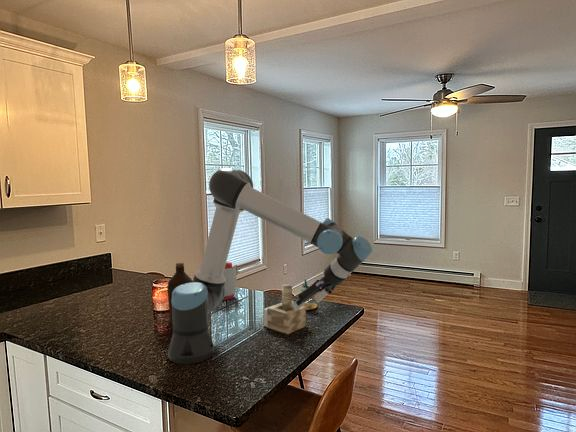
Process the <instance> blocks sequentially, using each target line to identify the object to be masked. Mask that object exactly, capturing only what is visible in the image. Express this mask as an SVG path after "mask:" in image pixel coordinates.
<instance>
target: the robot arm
mask: <svg viewBox="0 0 576 432" xmlns="http://www.w3.org/2000/svg"><path fill="white" fill-rule="evenodd" d="M208 183H209V184H208V187H209V188H208V189H209V192H210V194H211V196H212V197H213V201H212V202H213V205H214V206H215V210H214V213H213V214H214V215H213V219H212V222H211V227H210V229H209V233H208V234H209V235H208V237H207V240H206V245H205V250H204V252H203V255H202V256H203V257H202V260H201V265H200V269H198V270H197V271H195V272H194V276H193V279H192V281H193V282H192V283H186V284H182V285H180V286H178V287H176V288H175V289H174V290H173V292H172V299H171V303H172V320H173V325H172V336H171V340H170V343H169V347H168V350H167V356H168V360H169V361H171V362H172V363H176V364H179V365H181V364H182V365H191V364H192V365H193V364H199V363H200V362H204V361H207V360H208V359H210V358H211V357H212V356H214V354H215V345H214V341H213V339H212V336H211V334H210V331H209V315H210V313H211V312H213V310H215V309H216V308H217V307H219V306H220V305H221V303H222V302H223V301H224V300H223V298H224V296H225V286H224V285H225V281H226V279H225V277H224V276H223V273H224V269H225V265H226V262H228V257H229V253H230V249H231V245H232V242H233V238H234V235H235V231H236V228H237V222H238V219H239V215H240V214H241V213H242V212H244V211H245V212H247V213H249V214H252V215H254V216H256V217H257V218H259V219H262V220H263V221H266V222H267V223H269V224H272V225H273V226H275V227H278V228H279V229H282V230H283V231H285V232H286V233H290V234H291V235H293V236H295V237H297V238H299V239H301V240H303V241H305V242H307V243H308V244H311V245H313V246H314V247H317V248H318V249H319V251H320V252H321V253H323V254H326V255H333V254H338V255H337V256H336V257H335V258H334V259H333V260H332V261H331V262H330V264H328V265H327V267H326V268H325V269H324V270H323V275H324V276H322V277H321V278H320V279H316V281H315V282H314V283H313V284H311V285H310V286H309V288H307V289H306V290H305V291H304V292H302V293H301V292H300V293H299V294H298V296H297V297H298V298H297V299H298V300H297V299H296V301H294V304H293V305H292V307H293V308H294V310H295V311H298V310H299V309H300V308H301V306H302V305H303V304H304V303H307V300H308V299H309V300H310V298H312V297H313V299H314V301H316V304H319V303H320V302H321V301H322V299H324V298H325V297H326V296H327V295H328V294H329V295H331V294H332V293H333V291H334V290H335V289H336V287H337V286H340V285H341V284H342V283H343V282H344V281H345V280H346V279H347V278H348V277H351V276H352V274H351V273H353V272H354V271H355V270H356V269H357V268H358V267H359V266H360V265H361V264H362V263H363V262H365V261H366V259H367V258H368V257H369V256H370V255H371V254H372V252H373V251H372V250H373V247H372V244H371V243H370V242H369V240H367V239H366V238H364V237H363V236H361V235H357V236H355V237H353V236H351V235H349V234H348V233H347V232H346V231H345V230H344V229H343V228H341V227H340V226H339V225H338V224H336V222H335V221H333V220H332V219H330V218H328V217H326V218H324V220H323V221H319V220H317V219H315V218H313V217H311V216H309V215H307V214H305V213H303V212H301V211H299V210H297V209H295V208H293V207H291V206H289V205H287V204H285V203H283V202H282V201H279V200H277V199H275V198H273V197H271V196H270V195H268V194H266V193H264V192H261V191H259V190H257V189H255V188H254V182H253V180H252V177H251V176H250V175H249V174H248V173H247V172H245V171H244V170H241V169H237V168H229V167H228V168H226V167H225V168H221V169H218V170H216V171H215V172H214V173H213V174H212V175H211V177H210V179H209V181H208Z"/></svg>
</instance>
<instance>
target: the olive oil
mask: <svg viewBox="0 0 576 432" xmlns="http://www.w3.org/2000/svg"><path fill="white" fill-rule="evenodd" d="M184 265H185V264H184V262H176V264H175V273H174V275H172V277H171V278H170V279H169V280H168V282H167V287H166V289H167V297H168V311H169V312H168V313H169V323H170V325H172V326H173V320H172V303H171V299H172V292H173V290H174V289H175V288H176V287H178V286H180V285H182V284H186V283H192V282H193V279H192V278H191V277H190V276H189V275H188V274H187V273H186V272H185V266H184Z"/></svg>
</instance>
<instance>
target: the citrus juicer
mask: <svg viewBox="0 0 576 432" xmlns="http://www.w3.org/2000/svg"><path fill="white" fill-rule="evenodd" d="M238 274H240V270H238V265H237V264H235V265H233V263H232V262H228V261H226V265H225V269H224V273H223V276H224V277H225V279H226V281H225V285H224V286H225V296H224V298H223V300H222V301H228V300H232V299H233V298H234V297H235V294H236V290H237V280H238V278H237V275H238Z"/></svg>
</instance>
